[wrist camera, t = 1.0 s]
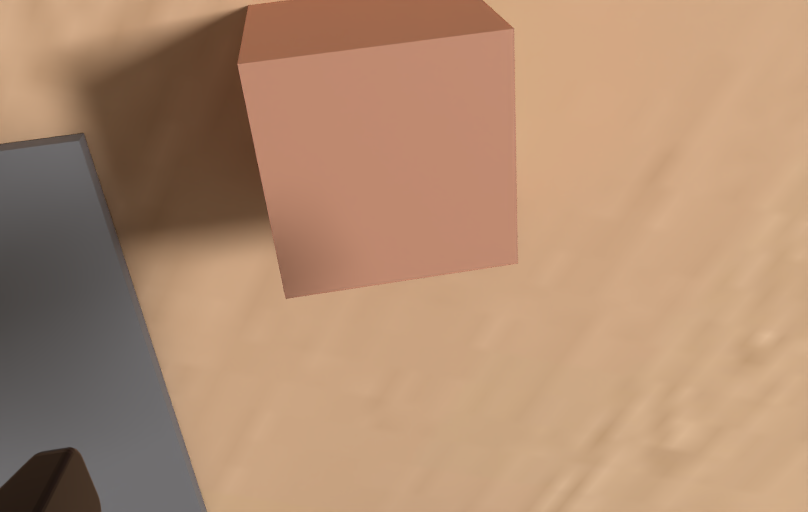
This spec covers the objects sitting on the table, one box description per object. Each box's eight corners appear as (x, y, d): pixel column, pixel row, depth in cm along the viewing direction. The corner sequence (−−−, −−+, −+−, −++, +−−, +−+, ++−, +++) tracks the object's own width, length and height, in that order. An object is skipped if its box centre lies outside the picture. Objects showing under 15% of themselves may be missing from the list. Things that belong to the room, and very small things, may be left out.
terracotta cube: (468, 170, 20) (517, 263, 16) (285, 196, 20) (285, 298, 16) (458, -22, 18) (513, 28, 14) (248, 4, 18) (237, 63, 13)
